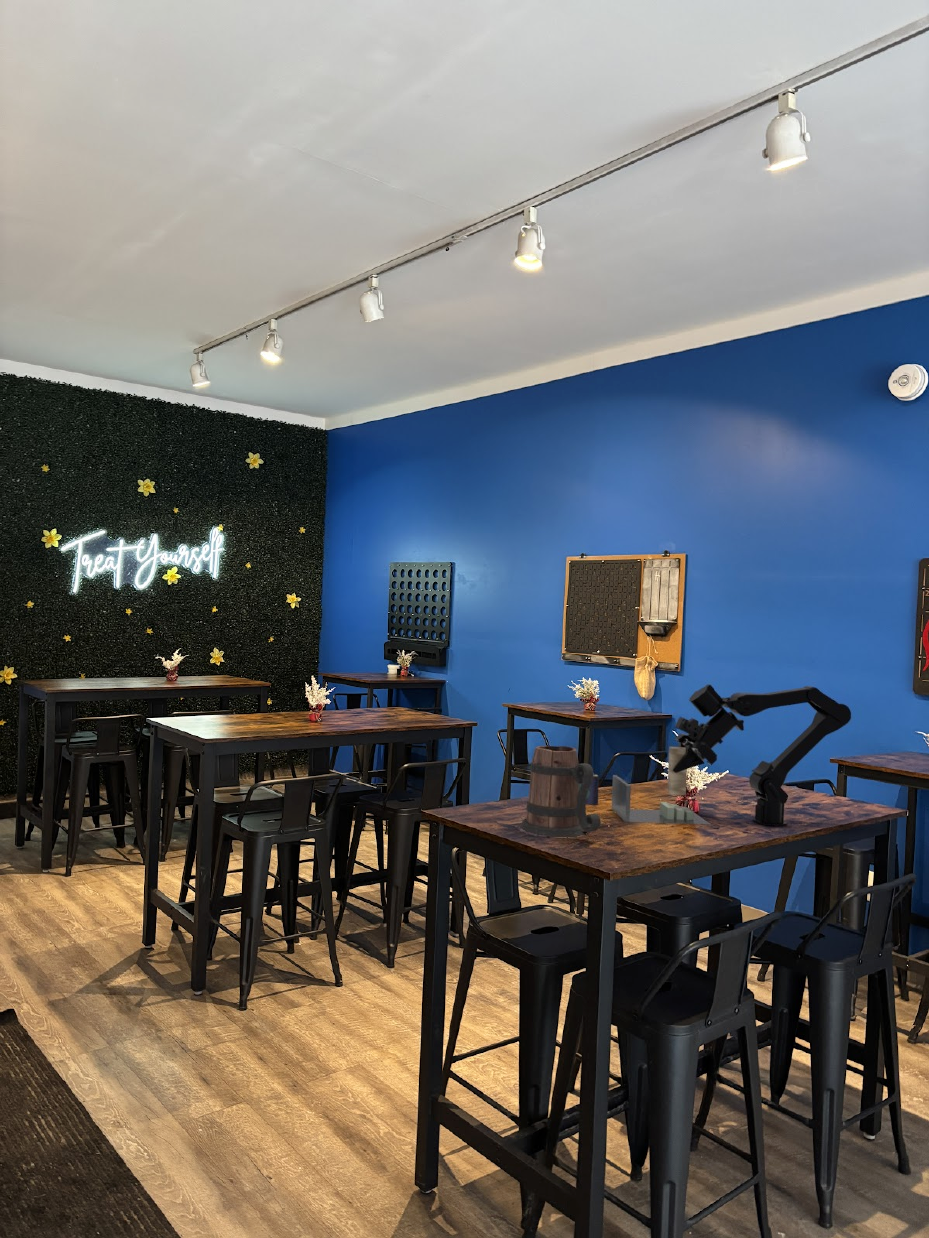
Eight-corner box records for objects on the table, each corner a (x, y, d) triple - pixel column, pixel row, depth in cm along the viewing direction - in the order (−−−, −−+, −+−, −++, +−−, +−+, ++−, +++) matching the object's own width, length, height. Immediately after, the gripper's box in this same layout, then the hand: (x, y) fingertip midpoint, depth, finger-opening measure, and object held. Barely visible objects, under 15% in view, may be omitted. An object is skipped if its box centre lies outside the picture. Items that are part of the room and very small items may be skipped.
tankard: (503, 826, 226) (506, 744, 226) (554, 820, 236) (558, 741, 236) (569, 848, 207) (573, 758, 207) (622, 840, 217) (626, 754, 217)
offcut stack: (685, 814, 246) (686, 802, 246) (693, 820, 239) (694, 808, 239) (659, 813, 245) (660, 802, 245) (667, 819, 238) (667, 807, 238)
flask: (563, 805, 257) (565, 766, 257) (567, 803, 259) (569, 764, 259) (596, 809, 253) (598, 769, 253) (599, 807, 255) (601, 768, 255)
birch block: (682, 792, 244) (684, 747, 244) (685, 795, 241) (687, 748, 241) (667, 792, 244) (669, 746, 244) (670, 794, 241) (672, 748, 241)
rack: (691, 814, 251) (693, 777, 251) (711, 828, 235) (712, 788, 235) (611, 812, 249) (612, 775, 249) (625, 825, 233) (626, 785, 233)
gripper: (684, 703, 252) (642, 743, 251) (706, 710, 233) (661, 753, 232) (711, 733, 252) (670, 773, 252) (735, 742, 234) (691, 785, 233)
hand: (672, 770), depth 242 cm, fingers closed on birch block, 3 cm apart
